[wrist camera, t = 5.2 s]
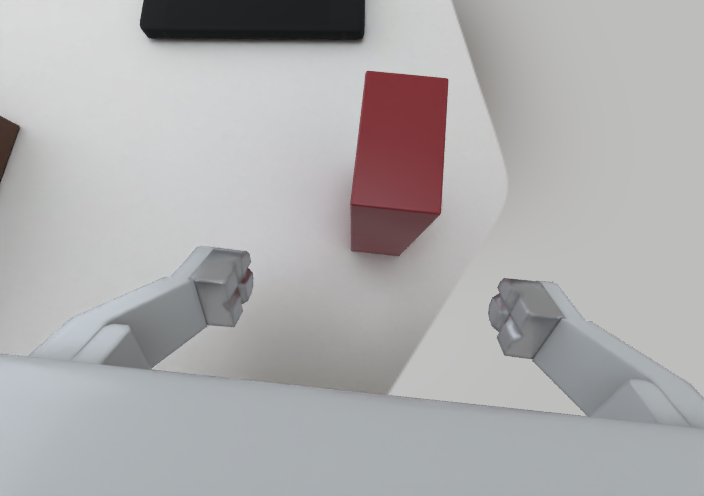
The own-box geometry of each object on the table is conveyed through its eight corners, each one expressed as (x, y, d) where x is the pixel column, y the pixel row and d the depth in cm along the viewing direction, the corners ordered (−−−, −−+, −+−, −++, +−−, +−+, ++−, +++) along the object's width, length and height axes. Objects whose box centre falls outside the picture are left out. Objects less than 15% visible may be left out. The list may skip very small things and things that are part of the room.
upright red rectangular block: (399, 256, 21) (441, 214, 11) (350, 250, 21) (350, 204, 11) (405, 176, 22) (449, 75, 12) (359, 172, 22) (366, 67, 12)
